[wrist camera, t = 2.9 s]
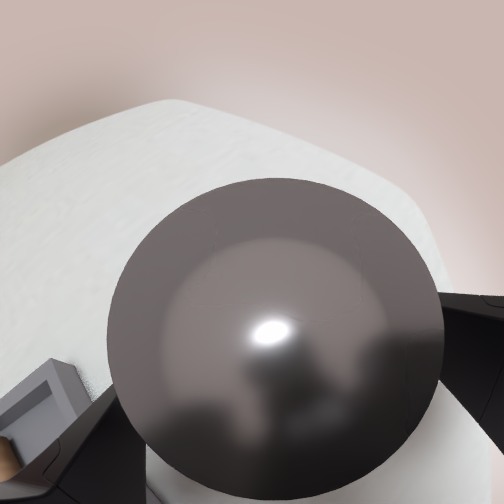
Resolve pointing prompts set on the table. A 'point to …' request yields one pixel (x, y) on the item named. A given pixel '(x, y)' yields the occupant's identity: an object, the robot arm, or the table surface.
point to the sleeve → (275, 339)
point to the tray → (44, 411)
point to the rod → (7, 460)
